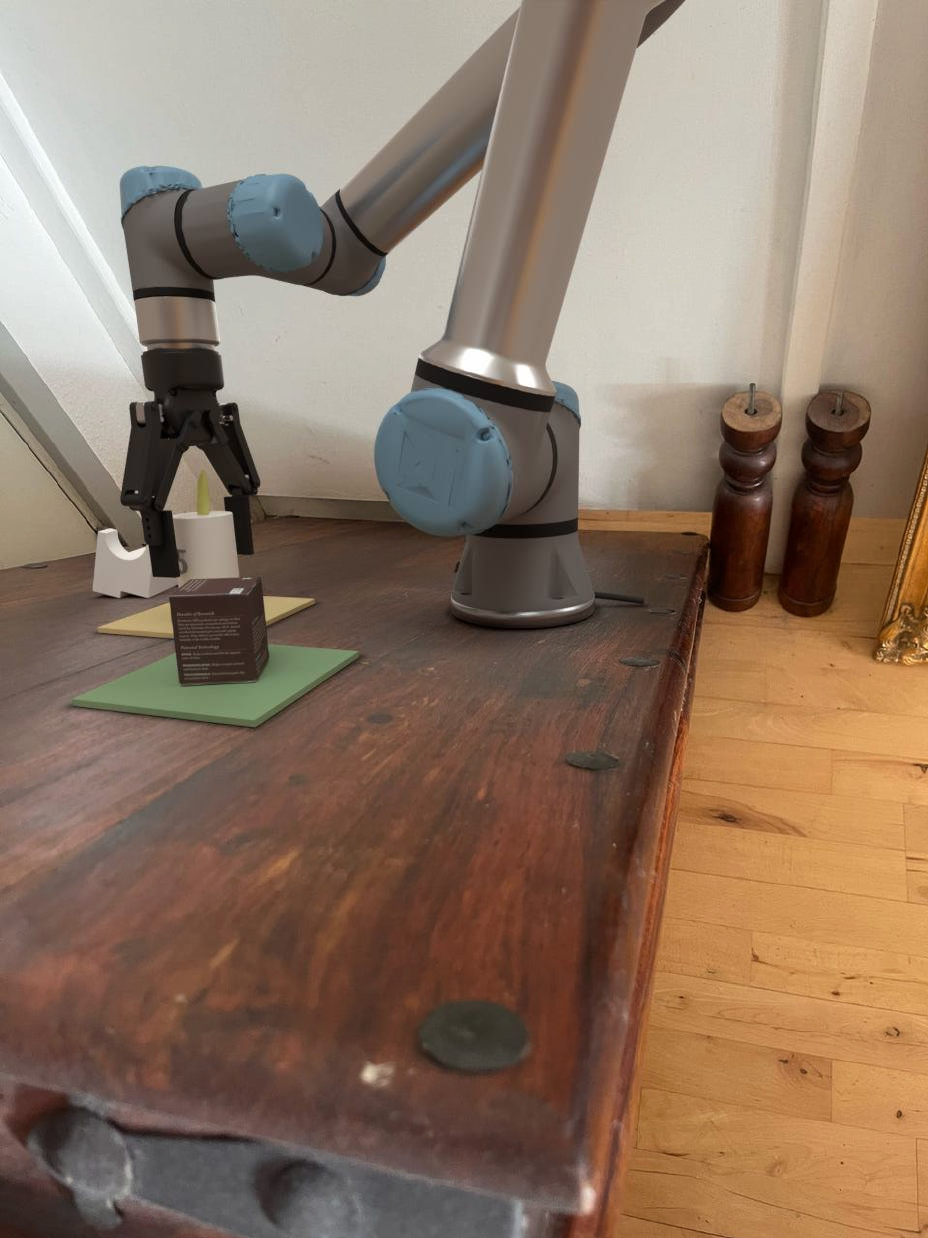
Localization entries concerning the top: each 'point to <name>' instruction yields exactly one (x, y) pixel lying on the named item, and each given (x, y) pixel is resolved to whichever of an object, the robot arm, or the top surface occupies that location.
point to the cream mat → (160, 620)
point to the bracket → (125, 569)
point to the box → (219, 630)
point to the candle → (205, 540)
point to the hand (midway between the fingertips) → (207, 564)
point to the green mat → (220, 688)
